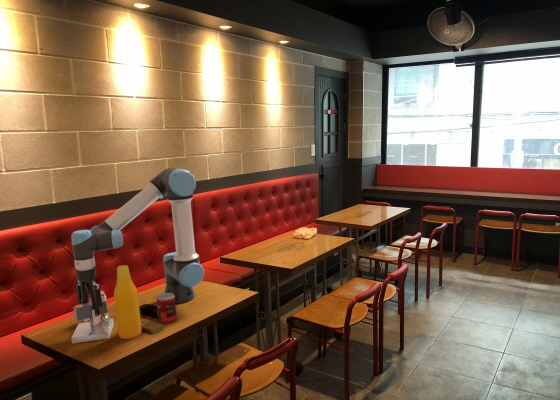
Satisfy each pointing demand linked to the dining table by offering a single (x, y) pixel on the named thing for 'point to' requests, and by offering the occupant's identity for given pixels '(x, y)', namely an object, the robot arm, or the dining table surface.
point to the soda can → (106, 302)
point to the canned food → (166, 307)
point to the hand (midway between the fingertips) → (92, 321)
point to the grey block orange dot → (88, 311)
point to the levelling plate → (93, 331)
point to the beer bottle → (126, 305)
